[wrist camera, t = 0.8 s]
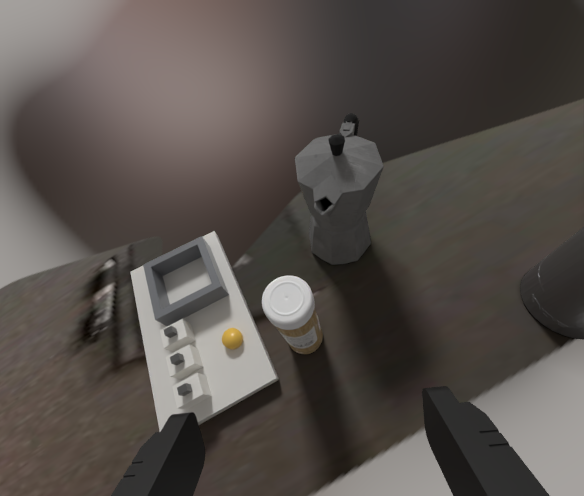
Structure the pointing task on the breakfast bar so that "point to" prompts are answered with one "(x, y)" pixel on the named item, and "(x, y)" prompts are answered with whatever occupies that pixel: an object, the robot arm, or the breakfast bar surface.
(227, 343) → the breaker panel
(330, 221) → the coffeepot
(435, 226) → the breakfast bar surface
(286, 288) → the sprinkles bottle
